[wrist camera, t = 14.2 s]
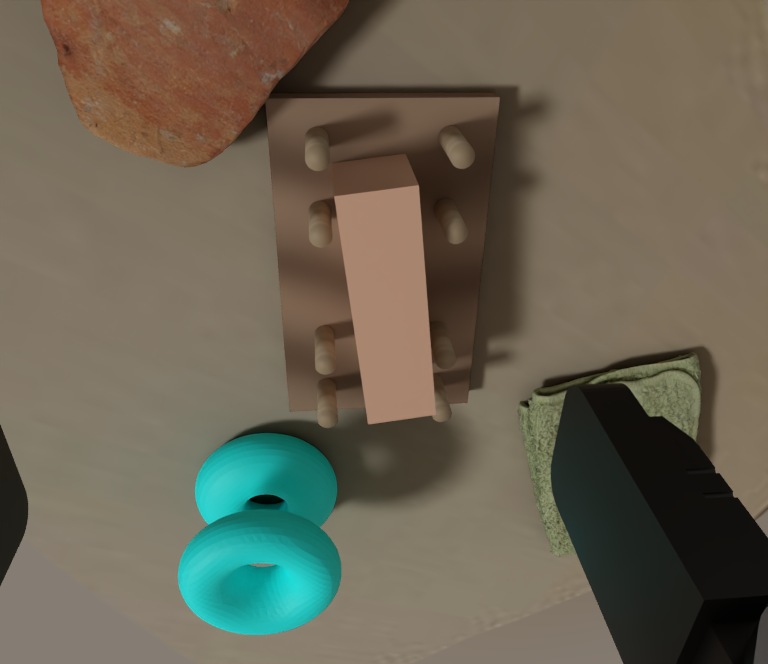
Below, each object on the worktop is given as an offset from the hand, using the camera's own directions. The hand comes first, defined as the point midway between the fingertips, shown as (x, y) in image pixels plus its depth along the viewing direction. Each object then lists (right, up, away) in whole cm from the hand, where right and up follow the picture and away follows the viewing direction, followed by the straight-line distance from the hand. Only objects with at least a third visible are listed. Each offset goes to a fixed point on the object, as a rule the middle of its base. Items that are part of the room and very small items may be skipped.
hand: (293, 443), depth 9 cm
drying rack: (+1, +6, +30) cm, 30 cm away
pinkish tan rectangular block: (+1, +5, +29) cm, 29 cm away
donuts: (-7, -9, +38) cm, 40 cm away
